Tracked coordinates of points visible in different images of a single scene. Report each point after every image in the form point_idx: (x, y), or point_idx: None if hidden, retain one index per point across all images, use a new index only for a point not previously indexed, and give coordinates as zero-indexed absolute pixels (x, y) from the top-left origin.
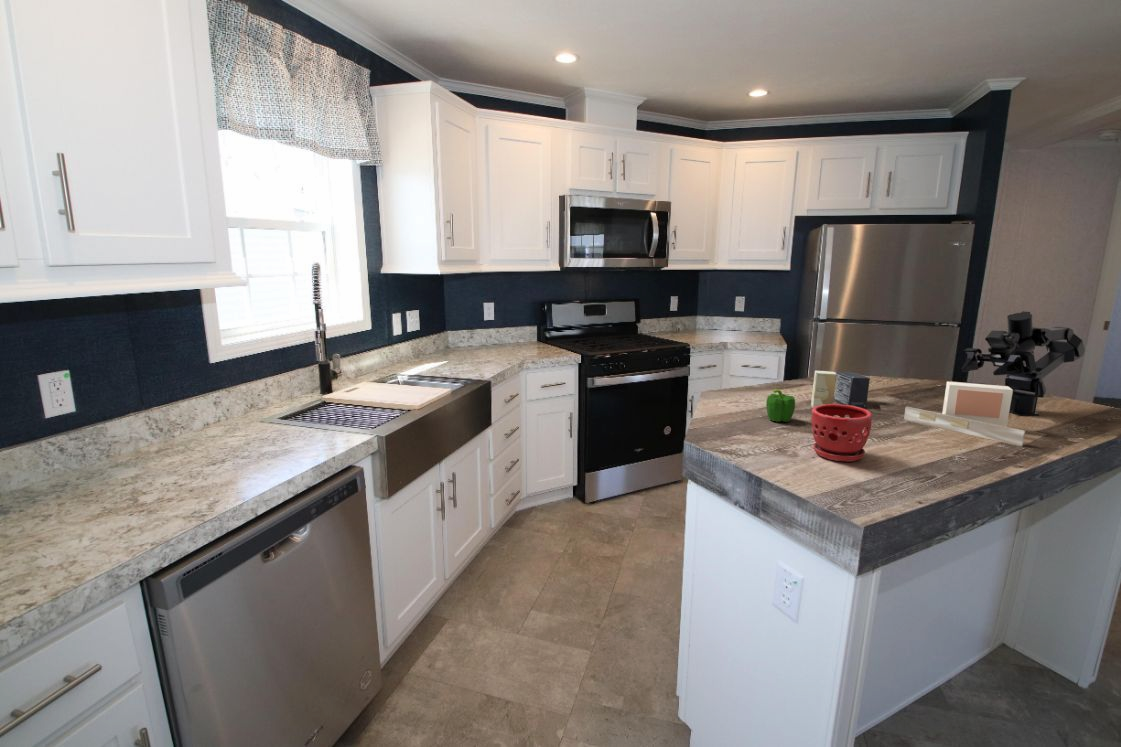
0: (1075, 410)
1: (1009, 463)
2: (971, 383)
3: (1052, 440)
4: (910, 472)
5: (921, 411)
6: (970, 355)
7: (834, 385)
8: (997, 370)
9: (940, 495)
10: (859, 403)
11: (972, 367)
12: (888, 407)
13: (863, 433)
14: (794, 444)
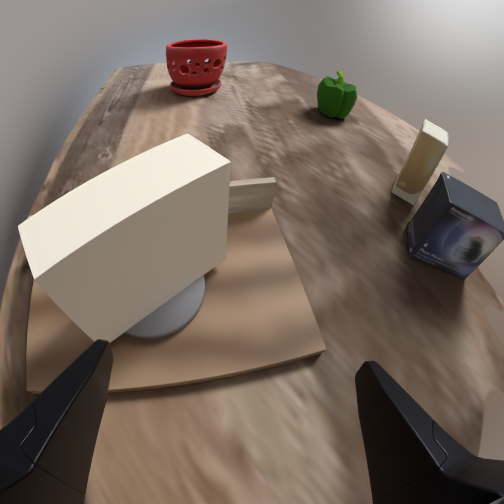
0: None
1: (54, 186)
2: (153, 198)
3: (27, 399)
4: (128, 103)
5: (234, 183)
6: (485, 471)
7: (412, 151)
8: (82, 353)
9: (94, 98)
10: (413, 236)
11: (384, 477)
12: (412, 310)
13: (180, 72)
14: (241, 85)
